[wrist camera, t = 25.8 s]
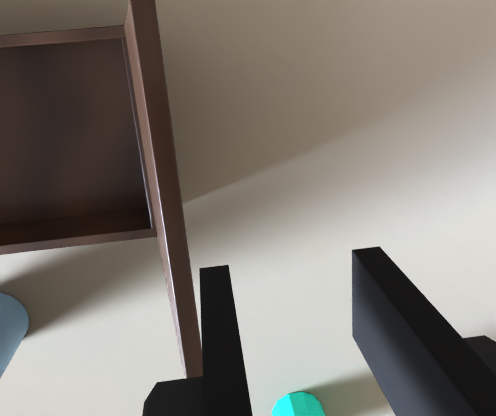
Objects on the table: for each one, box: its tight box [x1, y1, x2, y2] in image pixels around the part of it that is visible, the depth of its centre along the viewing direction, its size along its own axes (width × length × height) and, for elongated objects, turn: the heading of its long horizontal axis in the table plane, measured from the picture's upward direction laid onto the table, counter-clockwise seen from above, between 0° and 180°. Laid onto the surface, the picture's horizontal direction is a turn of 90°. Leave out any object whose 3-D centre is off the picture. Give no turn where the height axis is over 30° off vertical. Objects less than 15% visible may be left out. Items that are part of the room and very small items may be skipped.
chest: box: [0, 25, 157, 255], centre depth 39 cm, size 20×17×6 cm
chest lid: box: [124, 0, 203, 379], centre depth 27 cm, size 20×17×1 cm
